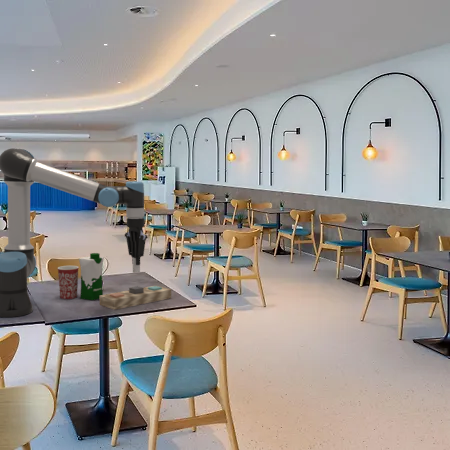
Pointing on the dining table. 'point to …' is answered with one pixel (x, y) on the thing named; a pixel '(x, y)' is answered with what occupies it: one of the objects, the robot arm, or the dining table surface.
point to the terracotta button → (116, 295)
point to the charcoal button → (136, 290)
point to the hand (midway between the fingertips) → (136, 272)
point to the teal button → (154, 288)
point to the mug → (68, 281)
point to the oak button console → (134, 298)
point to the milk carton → (91, 276)
